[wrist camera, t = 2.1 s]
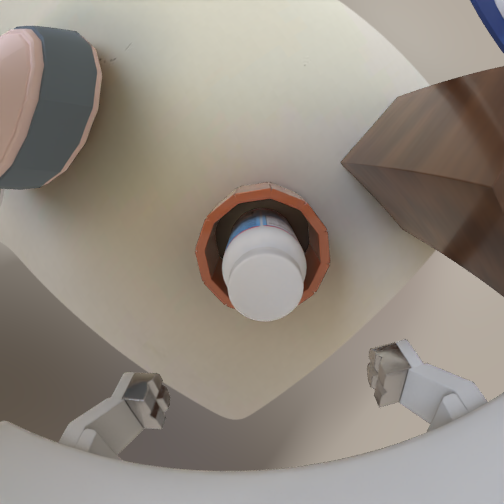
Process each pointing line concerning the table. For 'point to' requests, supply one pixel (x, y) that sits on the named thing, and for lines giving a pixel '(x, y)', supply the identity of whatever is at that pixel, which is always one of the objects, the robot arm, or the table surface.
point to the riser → (443, 169)
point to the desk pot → (207, 242)
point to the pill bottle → (264, 266)
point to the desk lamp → (44, 103)
